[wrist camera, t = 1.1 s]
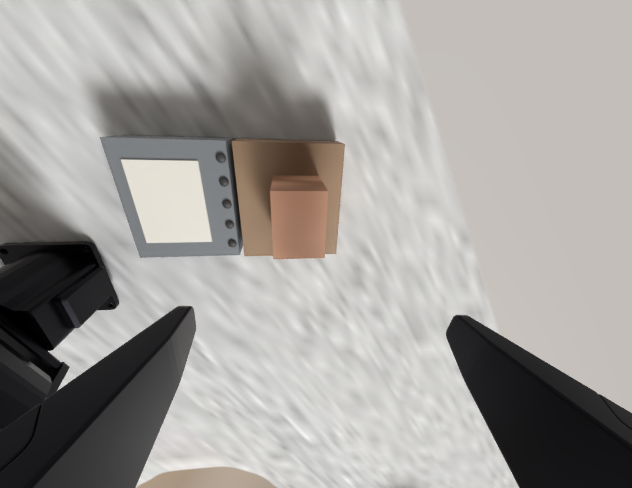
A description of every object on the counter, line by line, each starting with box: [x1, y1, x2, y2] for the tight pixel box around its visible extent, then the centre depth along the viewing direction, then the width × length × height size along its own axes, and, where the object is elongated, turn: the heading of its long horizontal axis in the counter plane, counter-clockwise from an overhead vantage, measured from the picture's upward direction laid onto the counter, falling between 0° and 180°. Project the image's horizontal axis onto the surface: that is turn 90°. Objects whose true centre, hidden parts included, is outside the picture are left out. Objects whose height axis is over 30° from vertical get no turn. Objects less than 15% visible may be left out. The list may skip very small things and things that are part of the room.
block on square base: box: [232, 139, 345, 259], centre depth 16 cm, size 7×8×6 cm
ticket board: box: [100, 135, 243, 258], centre depth 17 cm, size 7×8×3 cm
